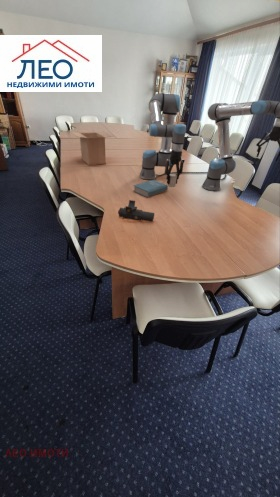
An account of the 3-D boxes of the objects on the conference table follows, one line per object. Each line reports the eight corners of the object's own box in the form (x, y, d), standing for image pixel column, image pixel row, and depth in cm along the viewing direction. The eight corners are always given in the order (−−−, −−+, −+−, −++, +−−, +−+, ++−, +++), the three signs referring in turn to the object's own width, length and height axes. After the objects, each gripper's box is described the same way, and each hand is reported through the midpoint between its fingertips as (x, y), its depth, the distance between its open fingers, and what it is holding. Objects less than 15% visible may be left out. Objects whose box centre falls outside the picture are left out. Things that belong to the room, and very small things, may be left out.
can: (172, 184, 168) (174, 173, 163) (176, 186, 164) (178, 176, 159) (166, 185, 165) (167, 174, 161) (170, 187, 161) (171, 176, 157)
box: (116, 165, 229) (116, 136, 213) (83, 168, 214) (80, 137, 198) (102, 154, 259) (101, 128, 243) (71, 156, 244) (68, 129, 228)
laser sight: (151, 225, 135) (153, 210, 129) (116, 219, 138) (116, 205, 132) (154, 218, 142) (155, 203, 137) (120, 212, 145) (120, 198, 139)
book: (152, 185, 190) (153, 179, 187) (167, 191, 181) (167, 185, 178) (133, 191, 176) (133, 185, 173) (147, 198, 167) (148, 191, 164)
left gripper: (166, 151, 144) (162, 186, 158) (191, 151, 149) (185, 184, 163) (162, 149, 150) (158, 182, 164) (186, 148, 155) (180, 181, 169)
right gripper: (258, 123, 153) (248, 155, 166) (298, 129, 141) (284, 163, 154) (261, 123, 158) (251, 154, 171) (300, 128, 146) (286, 161, 159)
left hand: (171, 183), depth 163 cm, fingers closed on can, 6 cm apart
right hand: (266, 158), depth 162 cm, fingers open, 13 cm apart
